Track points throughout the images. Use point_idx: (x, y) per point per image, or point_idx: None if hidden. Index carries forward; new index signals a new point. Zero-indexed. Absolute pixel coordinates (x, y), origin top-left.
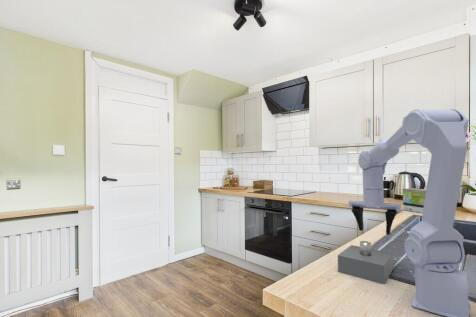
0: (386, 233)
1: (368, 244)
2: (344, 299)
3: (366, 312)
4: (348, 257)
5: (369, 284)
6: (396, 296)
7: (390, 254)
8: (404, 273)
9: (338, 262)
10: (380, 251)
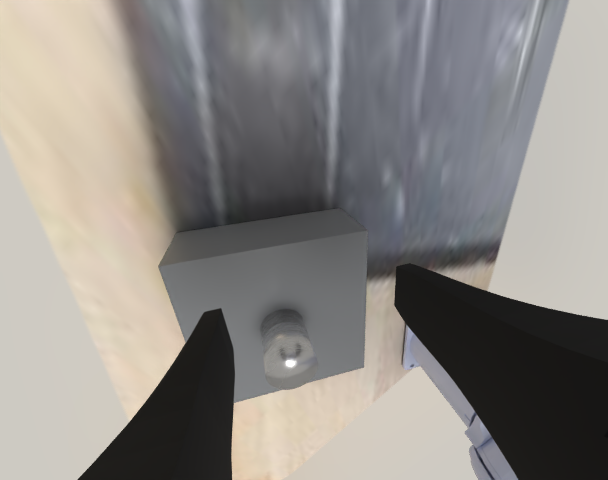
0: (399, 311)
1: (312, 374)
2: (301, 429)
3: (344, 427)
4: (251, 396)
5: None
6: (374, 353)
7: (361, 257)
8: (372, 215)
9: None
10: (318, 251)
